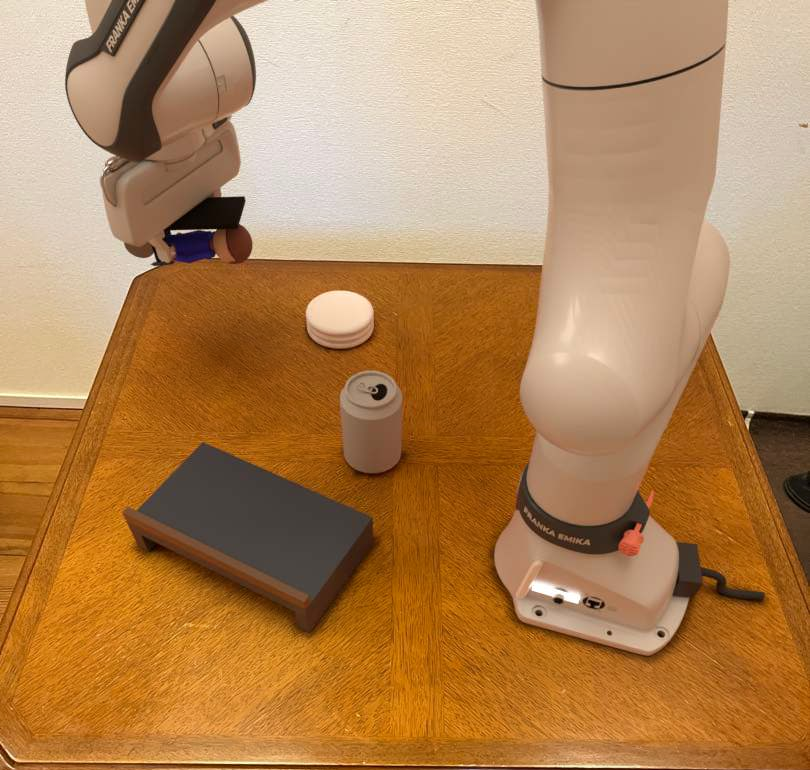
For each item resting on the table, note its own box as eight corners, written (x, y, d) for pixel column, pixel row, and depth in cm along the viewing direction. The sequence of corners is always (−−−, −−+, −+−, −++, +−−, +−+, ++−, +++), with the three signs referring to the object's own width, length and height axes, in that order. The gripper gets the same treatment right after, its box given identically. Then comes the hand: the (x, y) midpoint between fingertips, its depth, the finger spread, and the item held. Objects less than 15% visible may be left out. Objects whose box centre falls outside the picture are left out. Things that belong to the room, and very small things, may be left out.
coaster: (297, 342, 109) (294, 323, 106) (321, 302, 115) (319, 283, 112) (361, 356, 107) (360, 337, 104) (382, 315, 113) (382, 296, 110)
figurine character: (139, 285, 94) (253, 274, 93) (113, 229, 88) (235, 217, 87) (150, 254, 98) (260, 244, 97) (127, 200, 92) (243, 188, 91)
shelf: (373, 542, 88) (372, 508, 83) (310, 633, 81) (304, 602, 75) (210, 468, 94) (199, 432, 89) (138, 546, 87) (121, 512, 82)
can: (394, 482, 93) (395, 413, 84) (337, 472, 94) (331, 403, 84) (406, 440, 98) (408, 370, 88) (351, 431, 99) (347, 361, 89)
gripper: (119, 175, 75) (156, 292, 86) (239, 97, 86) (258, 210, 97) (73, 160, 77) (114, 277, 88) (196, 85, 88) (219, 198, 99)
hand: (190, 241), depth 93 cm, fingers closed on figurine character, 7 cm apart
